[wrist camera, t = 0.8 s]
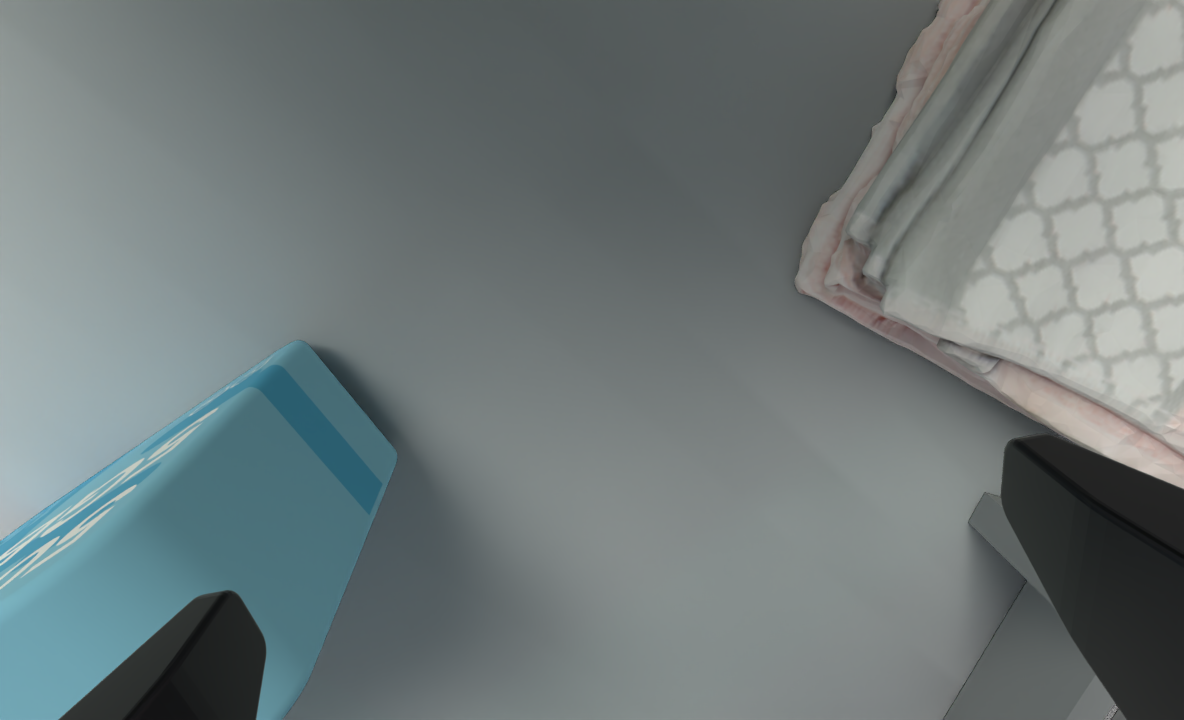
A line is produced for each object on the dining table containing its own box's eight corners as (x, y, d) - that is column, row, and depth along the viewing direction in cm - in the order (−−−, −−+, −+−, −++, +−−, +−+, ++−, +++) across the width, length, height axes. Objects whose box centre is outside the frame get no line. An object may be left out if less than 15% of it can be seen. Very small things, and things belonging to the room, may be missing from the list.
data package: (315, 323, 23) (85, 547, 11) (409, 439, 24) (290, 743, 13) (12, 530, 24) (-463, 912, 13) (117, 628, 25) (-228, 1053, 14)
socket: (1175, 785, 31) (1291, 910, 26) (865, 704, 28) (930, 825, 24) (1314, 597, 28) (1470, 697, 23) (985, 492, 26) (1084, 579, 21)
